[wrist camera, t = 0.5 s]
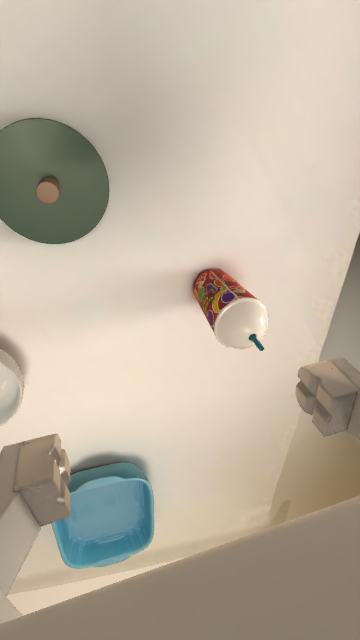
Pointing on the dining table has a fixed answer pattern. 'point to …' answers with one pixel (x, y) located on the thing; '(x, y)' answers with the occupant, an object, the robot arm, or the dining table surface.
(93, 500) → the casserole dish
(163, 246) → the dining table surface
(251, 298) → the smoothie
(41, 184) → the pot lid
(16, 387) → the cereal bowl
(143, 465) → the dining table surface
